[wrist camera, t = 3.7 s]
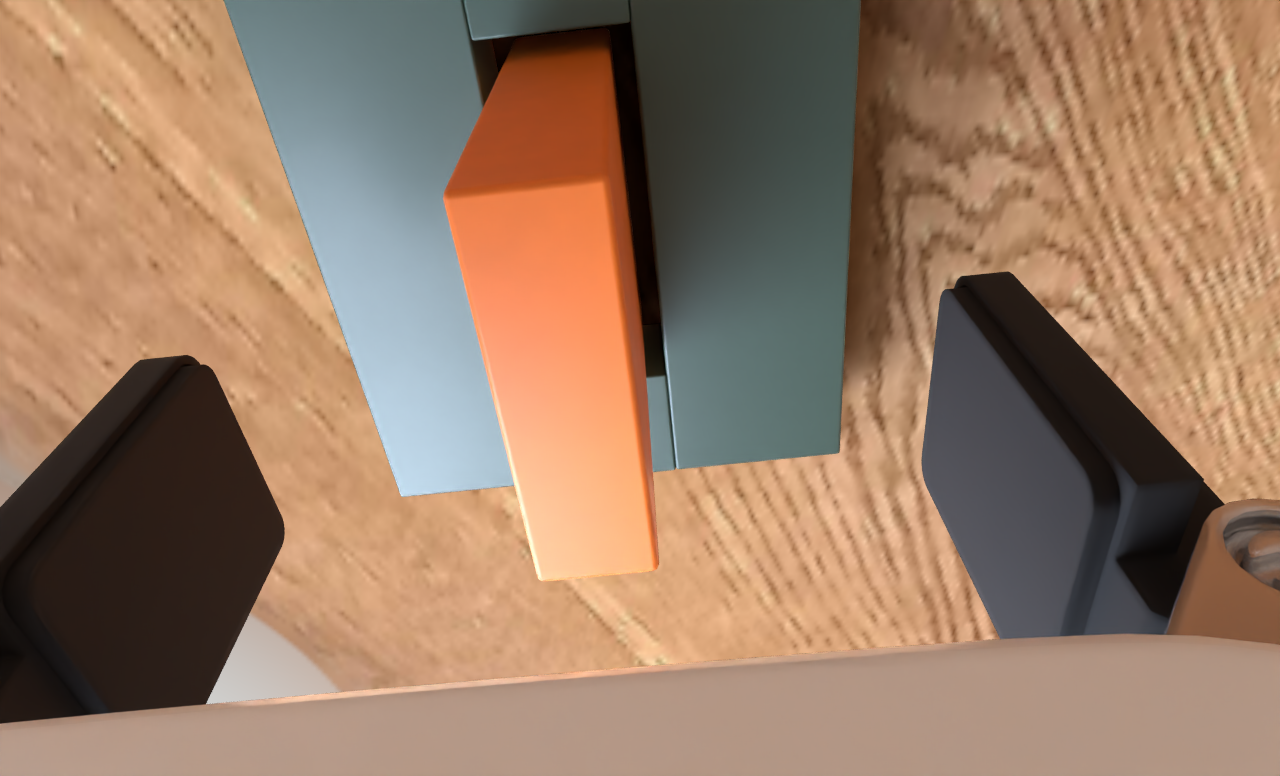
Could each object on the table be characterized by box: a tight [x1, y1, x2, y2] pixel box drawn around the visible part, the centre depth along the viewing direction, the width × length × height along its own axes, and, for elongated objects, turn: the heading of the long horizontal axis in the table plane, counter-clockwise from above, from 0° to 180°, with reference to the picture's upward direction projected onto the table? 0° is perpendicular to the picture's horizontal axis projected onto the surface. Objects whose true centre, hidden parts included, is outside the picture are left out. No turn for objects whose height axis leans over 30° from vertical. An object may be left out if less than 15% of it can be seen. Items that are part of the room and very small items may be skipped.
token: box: [443, 28, 659, 581], centre depth 13 cm, size 2×6×8 cm, turn 6°
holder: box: [224, 0, 861, 497], centre depth 16 cm, size 10×12×2 cm
